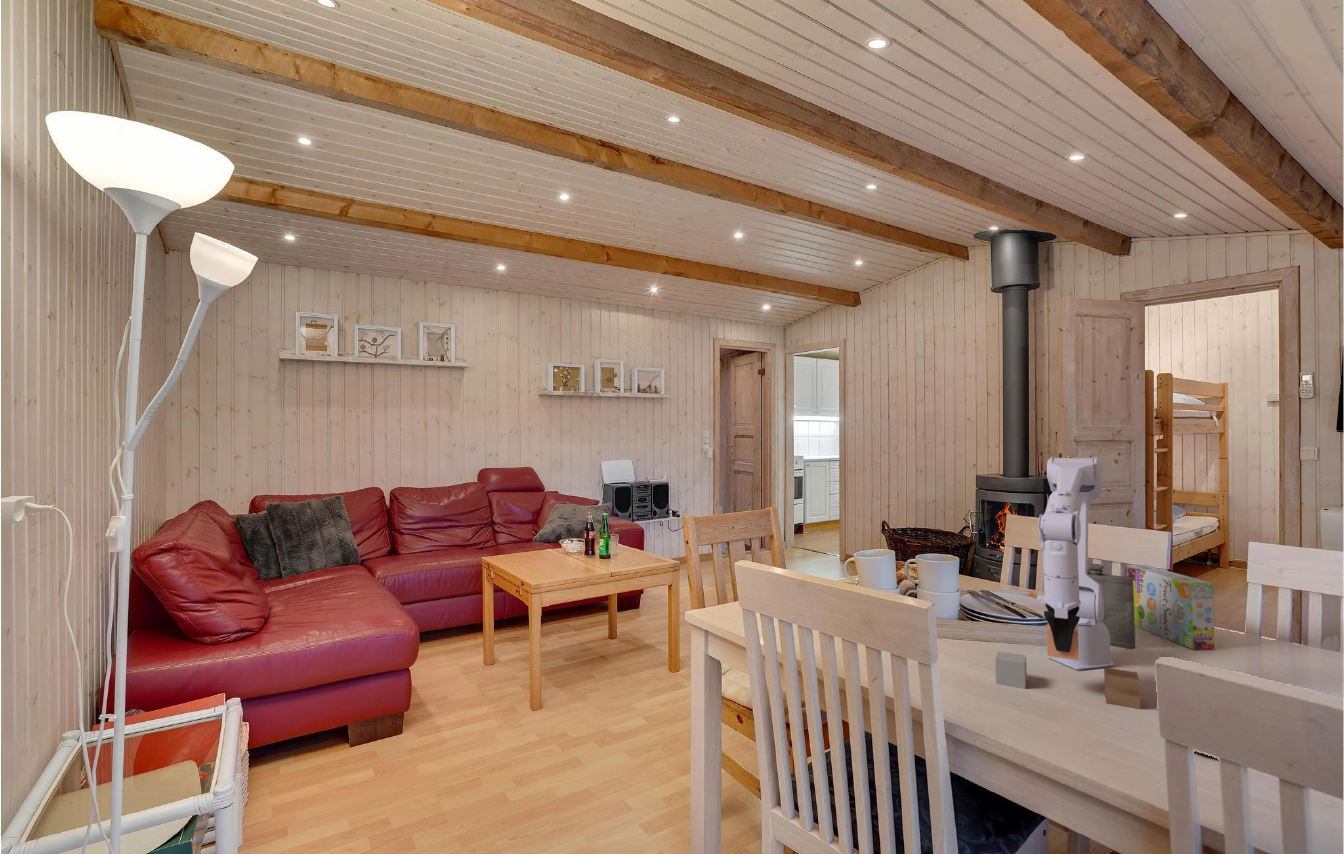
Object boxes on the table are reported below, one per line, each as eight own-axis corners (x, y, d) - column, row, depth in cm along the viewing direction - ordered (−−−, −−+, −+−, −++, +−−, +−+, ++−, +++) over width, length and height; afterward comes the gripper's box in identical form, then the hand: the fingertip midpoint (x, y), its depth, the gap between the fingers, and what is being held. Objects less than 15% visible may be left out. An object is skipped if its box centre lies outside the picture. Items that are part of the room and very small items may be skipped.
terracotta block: (1048, 647, 122) (1047, 622, 122) (1078, 652, 119) (1078, 626, 119) (1047, 655, 118) (1046, 629, 118) (1079, 660, 115) (1078, 633, 115)
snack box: (1217, 650, 138) (1215, 582, 138) (1192, 650, 138) (1190, 583, 138) (1146, 621, 159) (1144, 563, 159) (1124, 622, 159) (1122, 563, 160)
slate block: (998, 675, 126) (997, 651, 127) (1026, 680, 124) (1026, 655, 124) (996, 684, 122) (995, 658, 122) (1025, 689, 120) (1024, 663, 120)
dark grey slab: (1131, 650, 139) (1128, 570, 139) (1061, 634, 150) (1059, 560, 151) (1137, 647, 141) (1134, 567, 141) (1067, 631, 152) (1065, 558, 153)
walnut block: (1105, 693, 117) (1104, 667, 117) (1138, 699, 114) (1137, 672, 114) (1106, 703, 113) (1105, 676, 113) (1140, 709, 110) (1139, 681, 110)
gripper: (1038, 566, 127) (1040, 632, 127) (1034, 580, 115) (1037, 654, 114) (1079, 569, 123) (1081, 638, 123) (1080, 585, 111) (1082, 661, 111)
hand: (1063, 646), depth 118 cm, fingers closed on terracotta block, 5 cm apart
